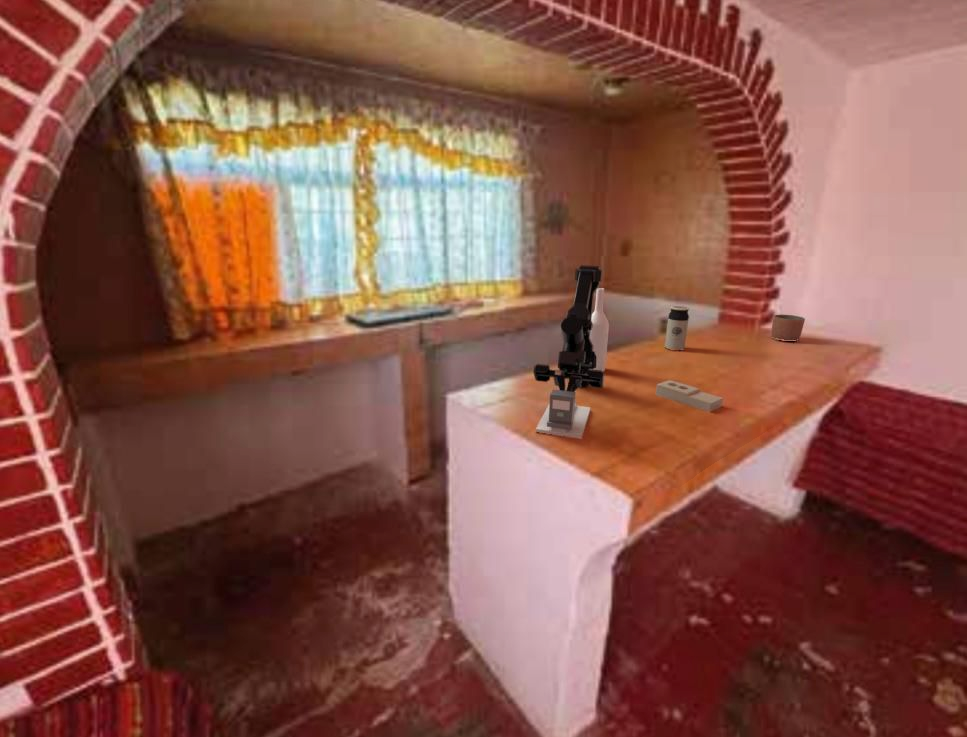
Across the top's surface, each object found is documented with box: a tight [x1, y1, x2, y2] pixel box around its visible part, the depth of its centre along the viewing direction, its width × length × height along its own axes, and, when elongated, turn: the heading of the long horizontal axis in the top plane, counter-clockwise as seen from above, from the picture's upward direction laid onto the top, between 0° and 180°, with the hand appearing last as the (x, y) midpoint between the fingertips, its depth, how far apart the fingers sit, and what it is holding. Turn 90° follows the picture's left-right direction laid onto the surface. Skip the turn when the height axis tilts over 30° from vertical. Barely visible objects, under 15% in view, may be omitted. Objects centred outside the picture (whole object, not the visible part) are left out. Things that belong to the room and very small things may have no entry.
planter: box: [771, 314, 806, 341], centre depth 224 cm, size 12×12×11 cm
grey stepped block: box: [655, 379, 724, 413], centre depth 151 cm, size 7×4×18 cm
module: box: [549, 389, 577, 425], centre depth 128 cm, size 5×6×8 cm
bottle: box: [590, 287, 610, 372], centre depth 176 cm, size 8×8×30 cm
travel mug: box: [664, 305, 690, 351], centre depth 207 cm, size 8×8×18 cm
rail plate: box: [535, 402, 591, 440], centre depth 135 cm, size 20×12×3 cm, turn 162°
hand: (563, 403), depth 130 cm, fingers closed
